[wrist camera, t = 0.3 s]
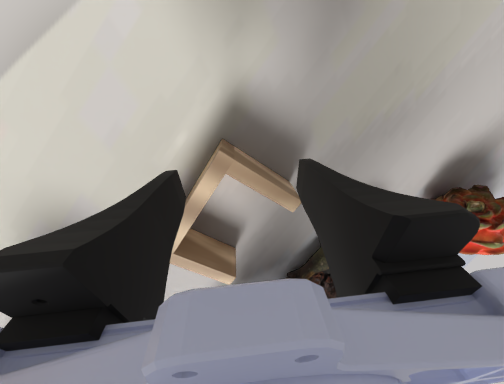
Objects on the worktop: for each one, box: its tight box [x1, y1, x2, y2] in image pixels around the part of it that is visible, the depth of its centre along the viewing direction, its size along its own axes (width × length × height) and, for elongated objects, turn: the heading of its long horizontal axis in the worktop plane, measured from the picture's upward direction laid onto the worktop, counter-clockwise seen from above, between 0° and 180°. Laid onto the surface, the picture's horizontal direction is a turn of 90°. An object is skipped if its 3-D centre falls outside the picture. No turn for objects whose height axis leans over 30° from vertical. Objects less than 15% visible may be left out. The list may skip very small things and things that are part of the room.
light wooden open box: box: [170, 139, 301, 285], centre depth 22 cm, size 14×10×5 cm
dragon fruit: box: [431, 185, 504, 255], centre depth 25 cm, size 8×8×12 cm
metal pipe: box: [286, 246, 338, 299], centre depth 28 cm, size 18×7×6 cm, turn 146°
